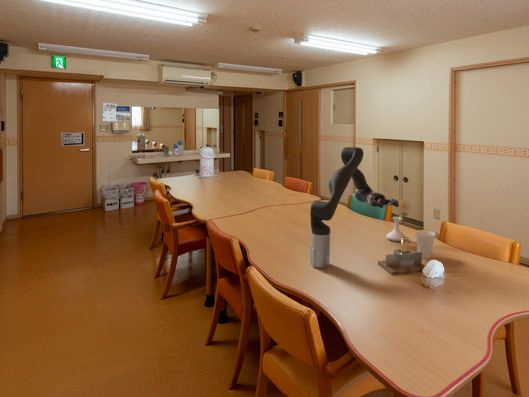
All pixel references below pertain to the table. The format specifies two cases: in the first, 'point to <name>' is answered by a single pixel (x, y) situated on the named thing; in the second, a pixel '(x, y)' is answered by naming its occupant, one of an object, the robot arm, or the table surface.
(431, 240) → the foam cup
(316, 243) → the robot arm
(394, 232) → the flower in vase
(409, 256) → the grey winged socket holder
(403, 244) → the brass capped peg
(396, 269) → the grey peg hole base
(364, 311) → the table surface
